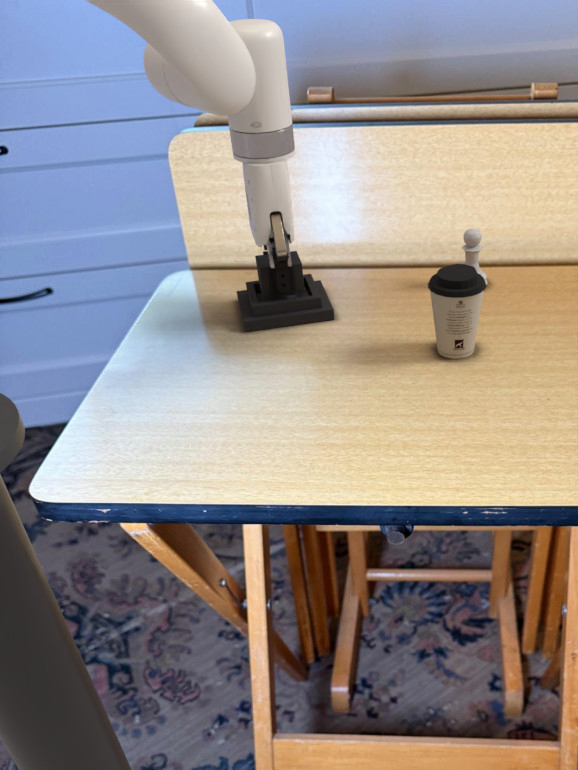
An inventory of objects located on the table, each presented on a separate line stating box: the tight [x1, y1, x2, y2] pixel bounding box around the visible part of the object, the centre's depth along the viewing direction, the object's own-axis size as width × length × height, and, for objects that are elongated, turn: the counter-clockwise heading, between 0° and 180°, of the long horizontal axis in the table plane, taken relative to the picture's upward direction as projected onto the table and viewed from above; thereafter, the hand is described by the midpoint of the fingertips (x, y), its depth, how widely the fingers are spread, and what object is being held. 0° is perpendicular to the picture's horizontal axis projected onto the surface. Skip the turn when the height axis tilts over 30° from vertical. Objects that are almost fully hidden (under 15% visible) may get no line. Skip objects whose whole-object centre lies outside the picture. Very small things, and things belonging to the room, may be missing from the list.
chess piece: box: [461, 228, 488, 286], centre depth 112 cm, size 5×5×8 cm
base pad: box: [236, 273, 335, 333], centre depth 109 cm, size 12×10×3 cm
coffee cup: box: [427, 263, 487, 360], centre depth 97 cm, size 7×7×10 cm
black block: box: [254, 250, 305, 298], centre depth 106 cm, size 6×5×4 cm
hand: (281, 285), depth 108 cm, fingers closed on black block, 4 cm apart
